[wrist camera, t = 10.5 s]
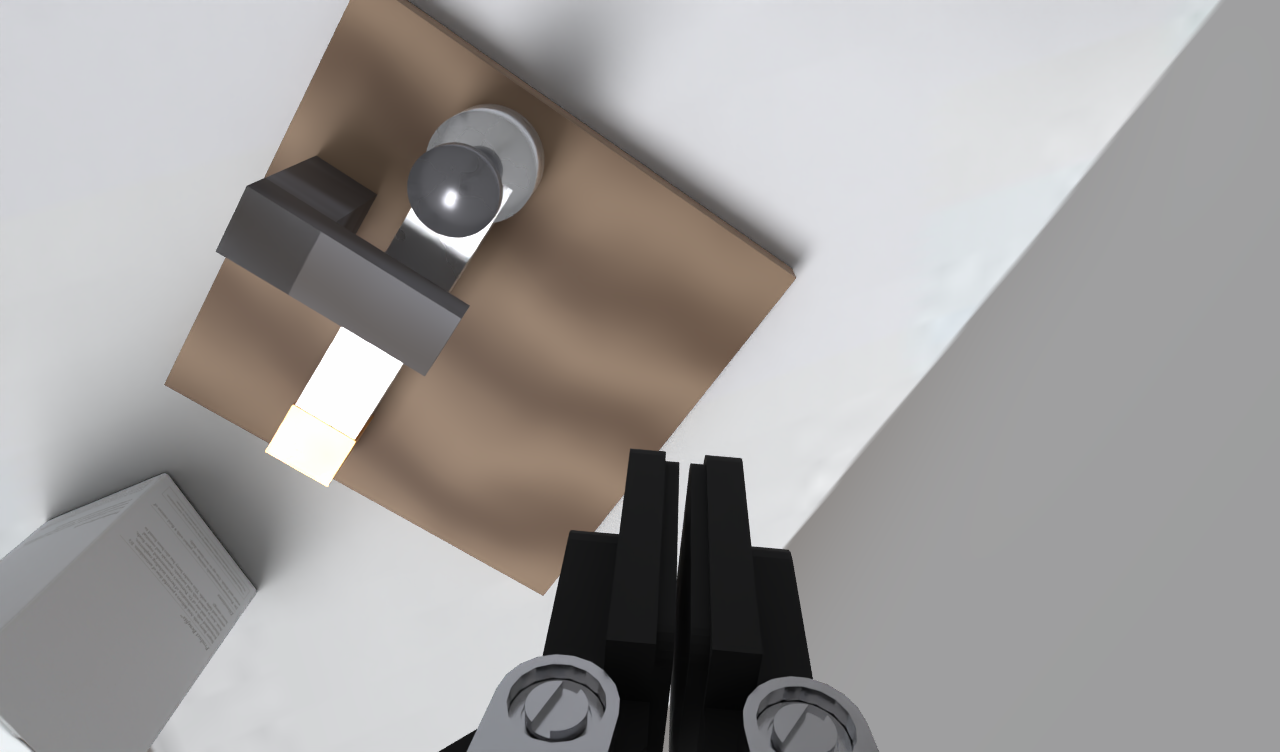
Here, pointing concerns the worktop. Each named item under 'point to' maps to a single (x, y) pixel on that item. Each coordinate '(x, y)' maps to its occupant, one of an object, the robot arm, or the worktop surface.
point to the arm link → (431, 246)
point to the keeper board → (473, 301)
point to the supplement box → (111, 621)
